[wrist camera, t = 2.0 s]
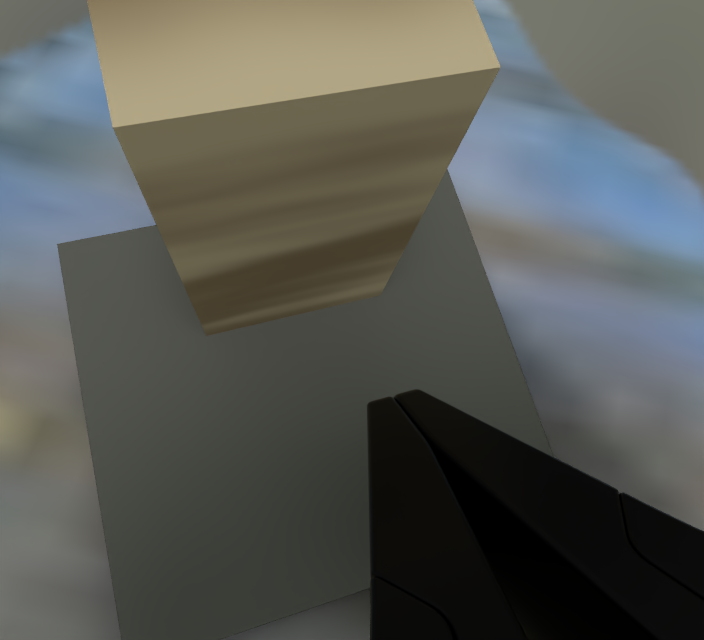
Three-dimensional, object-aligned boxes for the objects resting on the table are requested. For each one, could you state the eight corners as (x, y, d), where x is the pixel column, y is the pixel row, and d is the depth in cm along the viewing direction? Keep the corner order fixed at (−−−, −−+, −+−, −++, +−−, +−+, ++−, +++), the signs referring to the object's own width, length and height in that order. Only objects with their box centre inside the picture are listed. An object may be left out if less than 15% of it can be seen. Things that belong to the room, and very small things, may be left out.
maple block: (380, 295, 19) (501, 66, 9) (206, 335, 18) (112, 127, 8) (352, 206, 20) (432, -96, 10) (184, 239, 19) (74, -64, 9)
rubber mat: (569, 516, 18) (575, 517, 18) (130, 666, 16) (126, 671, 15) (444, 174, 22) (447, 169, 21) (61, 249, 19) (57, 244, 19)
